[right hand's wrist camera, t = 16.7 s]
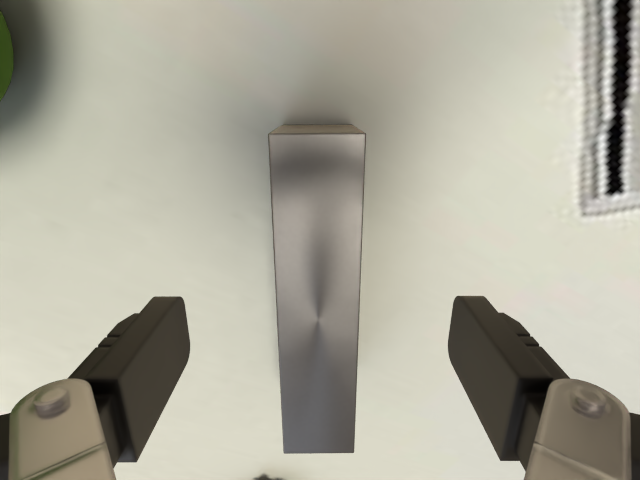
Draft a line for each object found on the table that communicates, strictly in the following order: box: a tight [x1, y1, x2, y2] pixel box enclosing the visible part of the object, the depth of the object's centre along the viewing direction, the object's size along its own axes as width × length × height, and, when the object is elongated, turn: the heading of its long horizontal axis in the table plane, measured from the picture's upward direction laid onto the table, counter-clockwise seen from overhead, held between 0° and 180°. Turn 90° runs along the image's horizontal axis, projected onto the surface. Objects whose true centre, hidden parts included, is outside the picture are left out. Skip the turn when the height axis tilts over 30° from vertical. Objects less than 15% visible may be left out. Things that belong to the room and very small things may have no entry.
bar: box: [268, 125, 366, 453], centre depth 31 cm, size 26×6×9 cm, turn 0°
